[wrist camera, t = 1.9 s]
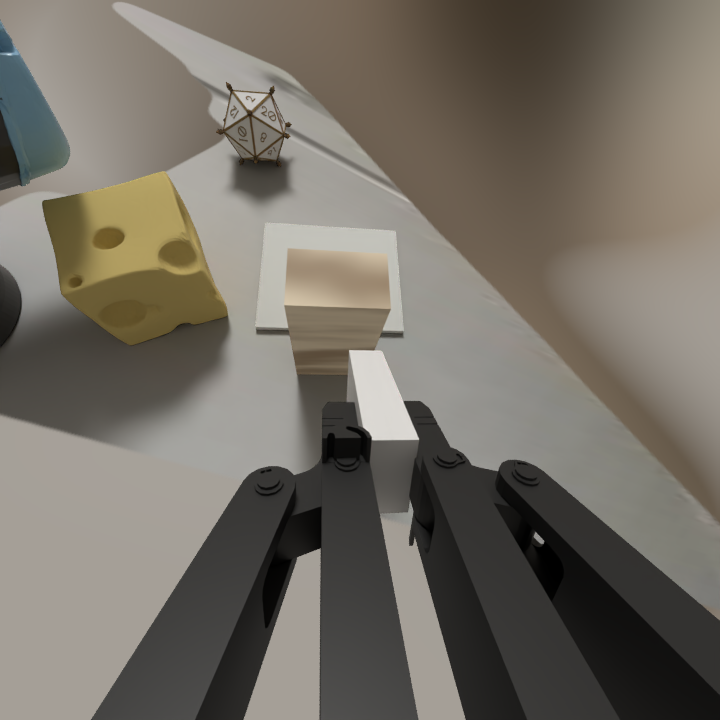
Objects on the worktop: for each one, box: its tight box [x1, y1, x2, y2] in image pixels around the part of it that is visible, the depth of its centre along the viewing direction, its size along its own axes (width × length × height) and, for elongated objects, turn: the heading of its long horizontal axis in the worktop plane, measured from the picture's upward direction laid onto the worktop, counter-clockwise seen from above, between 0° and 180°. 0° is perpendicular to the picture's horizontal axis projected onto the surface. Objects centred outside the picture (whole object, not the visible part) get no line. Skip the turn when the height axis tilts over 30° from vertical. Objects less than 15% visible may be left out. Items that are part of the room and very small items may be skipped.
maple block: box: [284, 248, 391, 375], centre depth 29 cm, size 4×7×14 cm, turn 92°
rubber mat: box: [255, 223, 404, 333], centre depth 39 cm, size 14×16×1 cm
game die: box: [216, 82, 292, 167], centre depth 41 cm, size 9×8×10 cm
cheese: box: [42, 172, 228, 345], centre depth 31 cm, size 10×11×10 cm
